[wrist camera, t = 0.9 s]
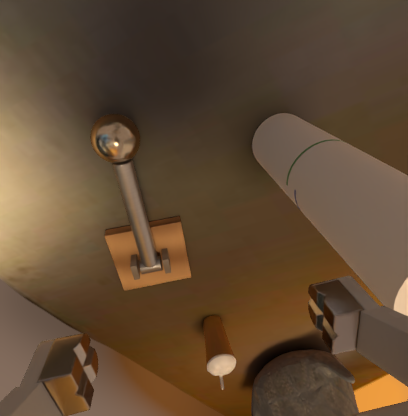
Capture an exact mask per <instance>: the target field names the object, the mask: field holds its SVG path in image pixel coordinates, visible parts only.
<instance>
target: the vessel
mask: <svg viewBox="0 0 408 416" xmlns="http://www.w3.org/2000/svg"><path fill="white" fill-rule="evenodd" d="M354 381H355V379H354V377H353V375H352V374H351V373H350V372H349V371H348V370H347V369H346V368H345V367H344V365H343V364H342V363H341V361H340V360H339V359H338V358H337V357H336V356H334V355H333V354H331V353H328V352H325V351H321V350H312V349H311V350H298V351H292V352H288V353H285V354H282V355H280V356H278V357H276V358H274V359H273V360H271V361H270V362H269V363H267V364H266V365H265V366H264V367H263V369H262V370H261V371H260V372H259V373H258V375H257V376H256V378H255V380H254V383H253V390H252V416H348V415H353V414H357V413H359V411H358V408H357V404H356V400H355V395H354V392H353V389H352V385H351V383H354Z"/></svg>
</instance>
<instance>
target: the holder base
mask: <svg viewBox="0 0 408 416" xmlns="http://www.w3.org/2000/svg"><path fill="white" fill-rule="evenodd" d="M149 226H150V230H151V233H152V237H153V241H154V245H155V249H156V253H157V256H161V260H162V266H163V270H161V271H156V272H151V273H146V274H141V271H140V266H139V260H140V255H139V252H138V249H137V245H136V242H135V239H134V235H133V232H132V229H131V225H130V226H124V227H119V228H114V229H108V230H106V232H105V239H106V242H107V244H108V247H109V250H110V253H111V255H112V258H113V261H114V264H115V266H116V269H117V272H118V275H119V277H120V280H121V283H122V286H123V288H124V291H125V290H130V289H135V288H140V287H145V286H150V285H155V284H160V283H165V282H170V281H175V280H179V279H184V278H189V277H191V272H190V267H189V261H188V256H187V251H186V246H185V240H184V235H183V230H182V225H181V220H180V216H178V217H172V218H167V219H162V220H156V221H151V222H149Z"/></svg>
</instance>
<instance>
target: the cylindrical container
mask: <svg viewBox="0 0 408 416" xmlns="http://www.w3.org/2000/svg"><path fill="white" fill-rule="evenodd" d="M252 150H253V154H254V157H255V158H256V160H257V161H258V162H259V164H260V165H261V166H262V167H263V168H264V169H265V170H266V172H267V173H268V174H269V175H270V176H271V177H272V178H273V180H274V181H275V182H276V183H277V184H278V185H279V186H280V188H281V189H282V190H283V191H284V192H285V193H286V194H287V195H288V197H289V198H290V199H291V200H292V201H293V202H294V203H295V205H296V206H297V207H298V208H299V209H300V210H301V211H302V213H303V214H304V215H305V216H306V217H307V218H308V219H309V221H310V222H311V223H312V224H313V225H314V226H315V227H316V229H317V230H318V231H319V232H320V233H321V234H322V235H323V236H324V238H325V239H326V240H327V241H328V242H329V243H330V244H331V246H332V247H333V248H334V249H335V250H336V251H337V252H338V254H339V255H340V256H341V257H342V258H343V259H344V260H345V262H346V263H347V264H348V265H349V266H350V267H351V268H352V270H353V271H354V272H355V273H356V274H357V275H358V276H359V278H360V279H361V280H362V281H363V282H364V283H365V284H366V285H367V287H368V288H369V289H370V290H371V291H372V292H373V293H374V295H375V296H376V297H377V298H378V299H379V300H380V301H381V303H382V304H383V305H384V306H385V307H388V308H390V309H392V310H394V311H397V312H399V313H401V314H404V315H406V316H408V175H406V174H404V173H402V172H400V171H398V170H396V169H395V168H393V167H391V166H389V165H387V164H385V163H383V162H381V161H380V160H378V159H376V158H374V157H372V156H370V155H368V154H366V153H365V152H363V151H361V150H359V149H357V148H355V147H353V146H351V145H349V144H348V143H346V142H344V141H342V140H340V139H338V138H336V137H334V136H333V135H331V134H329V133H327V132H325V131H323V130H321V129H319V128H318V127H316V126H314V125H312V124H310V123H308V122H306V121H304V120H303V119H301V118H299V117H297V116H295V115H292V114H289V113H279V114H276V115H273V116H271V117H269V118H268V119H266V120H265V121H264V122H263V123H262V124H261V125H260V126H259V127H258V129H257V130H256V132H255V134H254V137H253V141H252Z"/></svg>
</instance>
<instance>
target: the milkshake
mask: <svg viewBox="0 0 408 416" xmlns="http://www.w3.org/2000/svg"><path fill="white" fill-rule="evenodd" d="M203 328H204V338H205V348H206V362H207V370H208V371H209V372H210V373H211V374H213V375H215V376H218V375H219V376H220V384H221V389H224V383H223V376H222V375H226V374H229V373H230V372H231V371H232V370H233V369H234V368H235V365H236V359H235V357H234V354H233V351H232V349H231V346H230V343H229V340H228V337H227V335H226V332H225V329H224V326H223V323H222V320H221V318H220V317H219V316H215V315H211V316H208V317H207V318H205V319H204V320H203Z"/></svg>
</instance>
